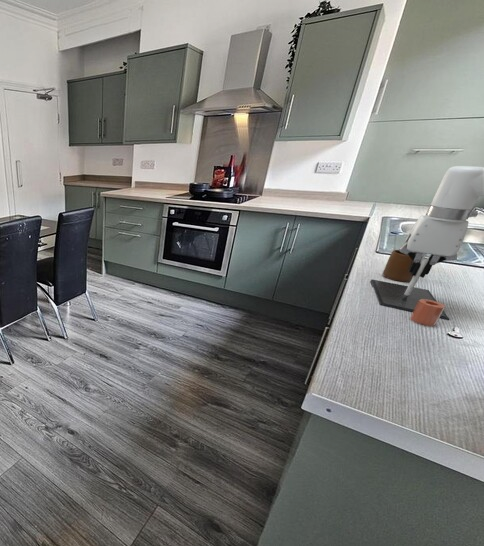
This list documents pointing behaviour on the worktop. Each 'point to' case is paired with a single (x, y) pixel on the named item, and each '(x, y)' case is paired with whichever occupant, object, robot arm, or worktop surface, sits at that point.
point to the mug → (398, 267)
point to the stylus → (416, 277)
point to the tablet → (401, 296)
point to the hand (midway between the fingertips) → (416, 274)
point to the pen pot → (427, 312)
